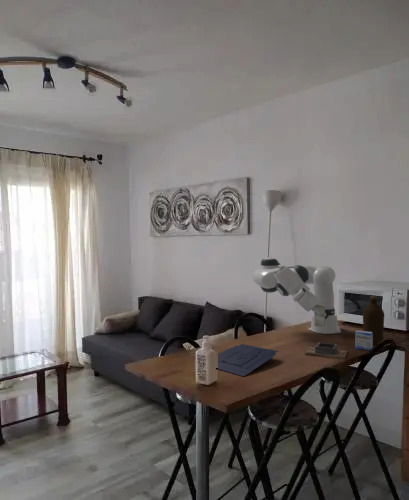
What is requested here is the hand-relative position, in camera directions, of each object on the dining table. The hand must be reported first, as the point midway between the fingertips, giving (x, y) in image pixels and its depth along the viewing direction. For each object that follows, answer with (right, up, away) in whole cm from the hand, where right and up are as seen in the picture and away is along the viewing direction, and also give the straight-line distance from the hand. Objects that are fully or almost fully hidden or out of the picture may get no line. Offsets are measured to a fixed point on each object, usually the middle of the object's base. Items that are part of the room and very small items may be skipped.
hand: (321, 313), depth 194 cm
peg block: (-1, -6, 0) cm, 6 cm away
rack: (+2, -19, 0) cm, 19 cm away
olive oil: (+33, -19, +19) cm, 43 cm away
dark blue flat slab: (-40, -20, -14) cm, 47 cm away
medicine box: (+24, -19, +8) cm, 32 cm away
